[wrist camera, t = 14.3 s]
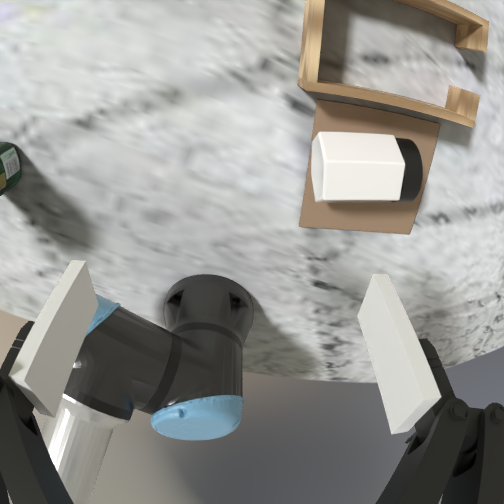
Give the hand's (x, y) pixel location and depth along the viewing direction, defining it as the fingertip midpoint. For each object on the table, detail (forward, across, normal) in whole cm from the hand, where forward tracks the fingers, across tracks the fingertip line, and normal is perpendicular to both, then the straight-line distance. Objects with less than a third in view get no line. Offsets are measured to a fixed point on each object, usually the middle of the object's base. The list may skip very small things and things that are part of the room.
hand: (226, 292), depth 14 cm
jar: (+24, -9, +3) cm, 26 cm away
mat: (+29, -18, +4) cm, 34 cm away
